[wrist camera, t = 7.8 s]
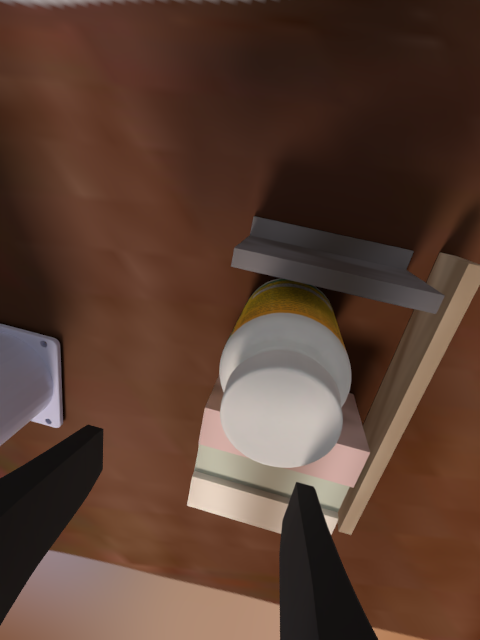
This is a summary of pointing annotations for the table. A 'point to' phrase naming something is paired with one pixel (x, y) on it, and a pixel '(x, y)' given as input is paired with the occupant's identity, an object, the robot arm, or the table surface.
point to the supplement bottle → (284, 376)
